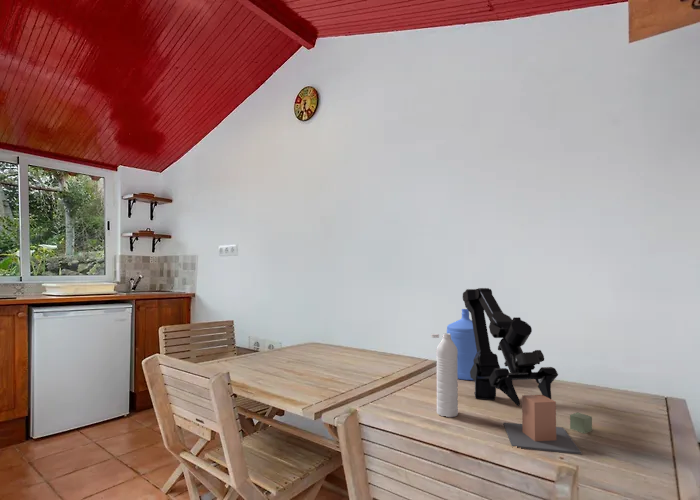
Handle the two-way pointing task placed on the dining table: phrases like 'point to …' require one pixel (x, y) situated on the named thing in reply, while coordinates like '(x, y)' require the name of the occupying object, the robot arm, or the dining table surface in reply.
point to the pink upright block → (539, 417)
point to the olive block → (581, 422)
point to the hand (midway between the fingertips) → (534, 404)
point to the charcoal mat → (524, 441)
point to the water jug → (463, 344)
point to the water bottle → (447, 376)
